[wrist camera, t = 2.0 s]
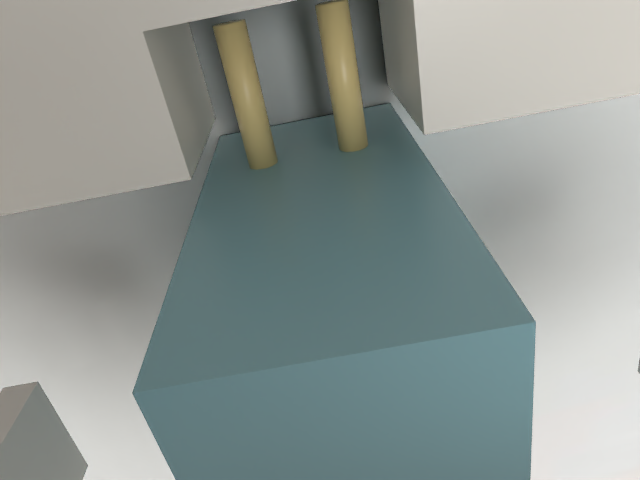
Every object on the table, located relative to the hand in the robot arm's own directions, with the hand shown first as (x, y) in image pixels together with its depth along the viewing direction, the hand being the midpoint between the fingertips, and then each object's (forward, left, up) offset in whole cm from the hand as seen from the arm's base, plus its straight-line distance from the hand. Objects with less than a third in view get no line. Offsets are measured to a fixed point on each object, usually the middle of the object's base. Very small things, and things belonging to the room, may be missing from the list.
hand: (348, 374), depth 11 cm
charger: (-2, 0, -6) cm, 7 cm away
